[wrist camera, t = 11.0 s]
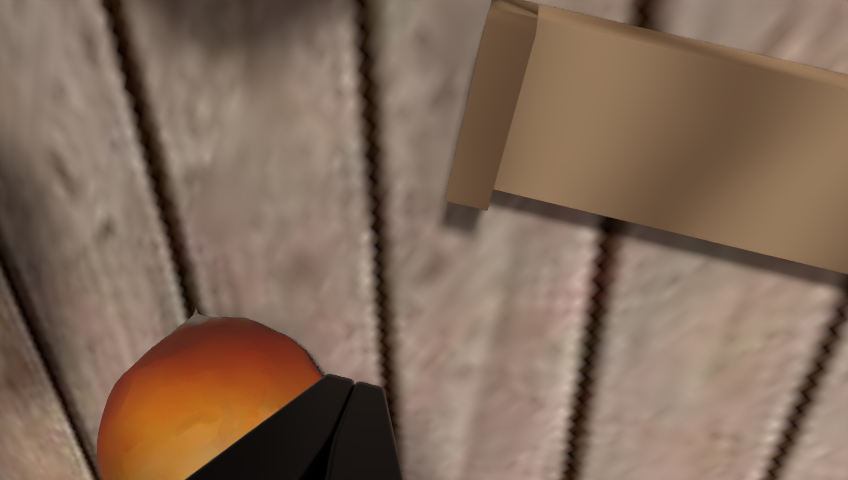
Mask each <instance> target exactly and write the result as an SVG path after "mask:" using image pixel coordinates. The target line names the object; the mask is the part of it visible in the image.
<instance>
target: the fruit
mask: <svg viewBox="0 0 848 480" xmlns="http://www.w3.org/2000/svg"><path fill="white" fill-rule="evenodd" d="M321 378H322V376H321V374H320V373H319V371H318V370H317V369H316V367H315V365H314V364H313V362H312V361H311V359H310V358H309V356H308V355H307V353H306V352H305V351H304V350H303V349H302V348H301V347H300V346H299V345H298V344H296V343H295V342H294V341H293V340H291V339H290V338H289V337H287V336H286V335H284V334H281V333H279V332H277V331H274V330H272V329H270V328H268V327H266V326H264V325H262V324H260V323H258V322H255V321H252V320H249V319H247V318H230V317H207V316H204V315H201V314H199V313H198V312H197V310H196V308H195V313H194V314H193V316H192V317H191V318H190V319H189V320H187V321H186V322H185V323H183V324H182V325H180V326H179V327H178V328H177V329H176V330H175V331H174V332H173V333H172V334H170V335H169V336H167V337H165V338H164V339H163V340H162V341H160V342H159V343H158V344H157V345H155V346H154V347H152V348H151V349H150V350H149V351H148V352H147V353H146V354H145V355H143V356H142V357H141V358H140V359H139V360H138V361H137V362H136V363H135V364H134V365H133V366H132V367H131V368H130V369H129V370H128V371H127V372H125V373H124V374H123V375H122V376H121V378H120V379H119V380H118V381H117V382H116V384H115V385H114V387H113V389H112V391H111V393H110V395H109V397H108V400H107V403H106V406H105V409H104V412H103V415H102V419H101V424H100V428H99V432H98V439H97V458H98V464H99V469H100V473H101V477H102V480H185V479H186V478H187V477H189V476H190V475H191V474H193V473H194V472H196V471H197V470H198V469H200V468H201V467H202V466H204V465H205V464H206V463H208V462H209V461H210V460H212V459H213V458H214V457H216V456H217V455H218V454H220V453H221V452H223V451H224V450H225V449H227V448H228V447H229V446H231V445H232V444H233V443H235V442H236V441H237V440H239V439H240V438H241V437H243V436H244V435H245V434H247V433H248V432H250V431H251V430H252V429H254V428H255V427H256V426H258V425H259V424H260V423H262V422H263V421H264V420H266V419H267V418H268V417H270V416H271V415H273V414H274V413H275V412H277V411H278V410H279V409H281V408H282V407H283V406H285V405H286V404H287V403H289V402H290V401H291V400H293V399H294V398H295V397H297V396H298V395H299V394H301V393H302V392H304V391H305V390H306V389H308V388H309V387H310V386H312V385H313V384H314V383H316V382H317V381H318V380H320V379H321Z"/></svg>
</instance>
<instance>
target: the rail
mask: <svg viewBox="0 0 848 480" xmlns="http://www.w3.org/2000/svg"><path fill="white" fill-rule="evenodd" d="M493 189H495V190H499V191H503V192H507V193H511V194H515V195H520V196H524V197H528V198H532V199H536V200H540V201H545V202H549V203H553V204H557V205H561V206H565V207H570V208H574V209H578V210H582V211H586V212H590V213H595V214H599V215H603V216H607V217H611V218H615V219H620V220H624V221H628V222H632V223H636V224H640V225H645V226H649V227H653V228H657V229H661V230H665V231H670V232H674V233H678V234H682V235H686V236H690V237H695V238H699V239H703V240H707V241H711V242H715V243H720V244H724V245H728V246H732V247H736V248H740V249H745V250H749V251H753V252H757V253H761V254H765V255H770V256H774V257H778V258H782V259H786V260H790V261H795V262H799V263H803V264H807V265H811V266H815V267H820V268H824V269H828V270H832V271H836V272H840V273H845V274H848V75H845V74H841V73H837V72H832V71H828V70H824V69H819V68H815V67H811V66H806V65H802V64H798V63H793V62H789V61H785V60H780V59H776V58H772V57H767V56H763V55H758V54H754V53H750V52H745V51H741V50H737V49H732V48H728V47H724V46H719V45H715V44H711V43H706V42H702V41H698V40H693V39H689V38H685V37H680V36H676V35H671V34H667V33H663V32H658V31H654V30H650V29H645V28H641V27H637V26H632V25H628V24H624V23H619V22H615V21H611V20H606V19H602V18H598V17H593V16H589V15H585V14H580V13H576V12H571V11H567V10H563V9H558V8H554V7H550V6H545V5H541V4H537V3H532V2H528V1H524V0H492V2H491V6H490V9H489V12H488V15H487V19H486V22H485V26H484V31H483V35H482V39H481V44H480V48H479V52H478V57H477V61H476V65H475V70H474V74H473V79H472V83H471V87H470V92H469V96H468V100H467V105H466V109H465V113H464V118H463V122H462V127H461V131H460V135H459V140H458V144H457V148H456V153H455V157H454V162H453V166H452V170H451V175H450V179H449V183H448V188H447V192H446V196H445V201H449V202H453V203H457V204H461V205H465V206H469V207H474V208H478V209H482V210H486V211H487V210H488V206H489V203H490V199H491V196H492V192H493Z"/></svg>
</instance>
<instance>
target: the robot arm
mask: <svg viewBox="0 0 848 480" xmlns="http://www.w3.org/2000/svg"><path fill="white" fill-rule="evenodd" d="M185 480H403V475H402V471H401V466H400V461H399V456H398V452H397V447H396V442H395V438H394V433H393V428H392V424H391V419H390V414H389V410H388V405H387V400H386V395H385V392H384V389H383V388H382V387H380V386H376V385H372V384H368V383H364V382H357V383H356V384H354V381H353V380H352V379H349V378H345V377H341V376H337V375H333V374H327V375H325V376H324V377H322V378H321V379H320V380H318V381H317V382H316V383H314V384H313V385H312V386H310V387H309V388H308V389H306V390H305V391H304V392H302V393H301V394H299V395H298V396H297V397H295V398H294V399H293V400H291V401H290V402H289V403H287V404H286V405H285V406H283V407H282V408H281V409H279V410H278V411H277V412H275V413H274V414H273V415H271V416H270V417H268V418H267V419H266V420H264V421H263V422H262V423H260V424H259V425H258V426H256V427H255V428H254V429H252V430H251V431H250V432H248V433H247V434H245V435H244V436H243V437H241V438H240V439H239V440H237V441H236V442H235V443H233V444H232V445H231V446H229V447H228V448H227V449H225V450H224V451H223V452H221V453H220V454H218V455H217V456H216V457H214V458H213V459H212V460H210V461H209V462H208V463H206V464H205V465H204V466H202V467H201V468H200V469H198V470H197V471H196V472H194V473H193V474H191V475H190V476H189V477H187V478H186V479H185Z"/></svg>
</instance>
